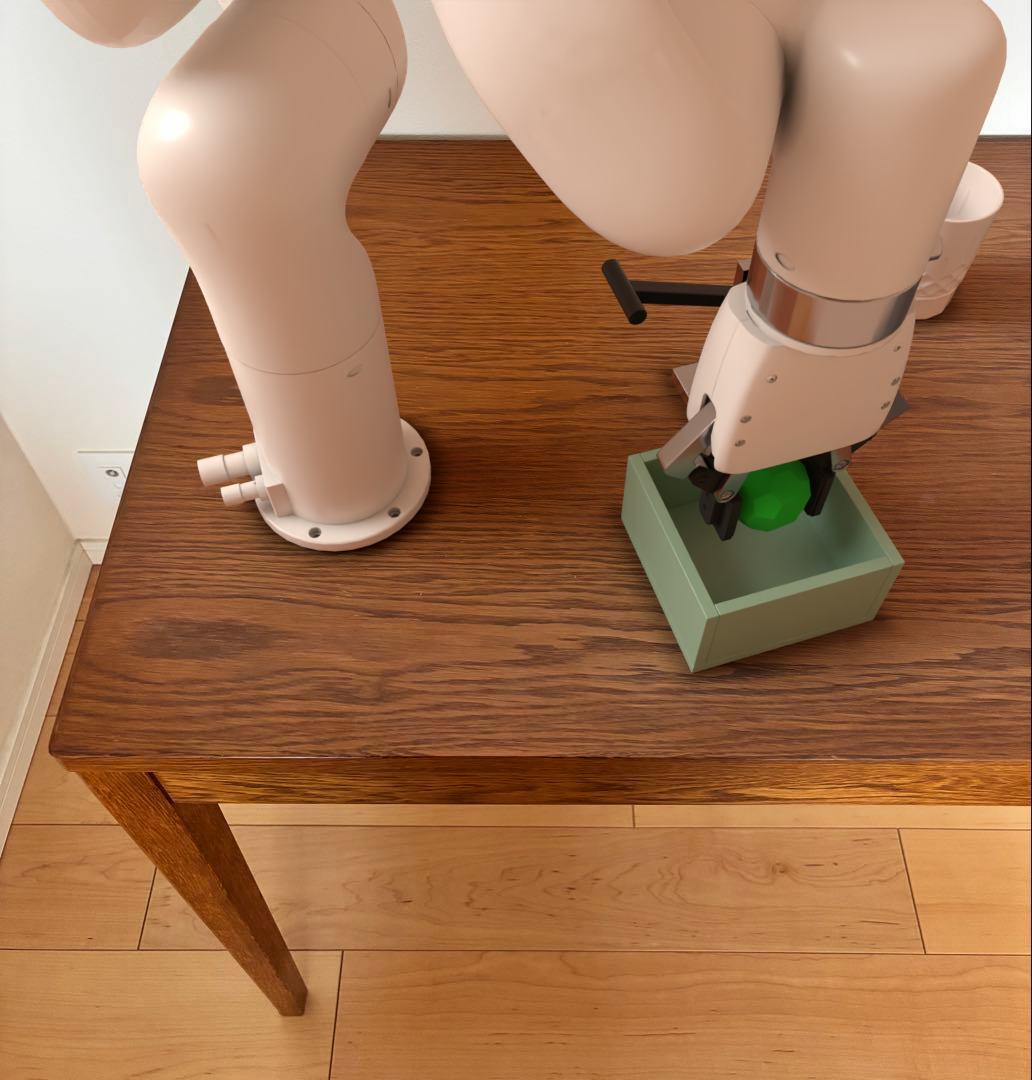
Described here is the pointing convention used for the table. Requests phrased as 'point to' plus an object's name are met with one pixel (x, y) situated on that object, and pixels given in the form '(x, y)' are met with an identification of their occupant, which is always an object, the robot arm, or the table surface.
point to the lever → (658, 292)
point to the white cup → (959, 239)
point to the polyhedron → (774, 496)
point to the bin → (755, 567)
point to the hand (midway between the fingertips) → (760, 508)
